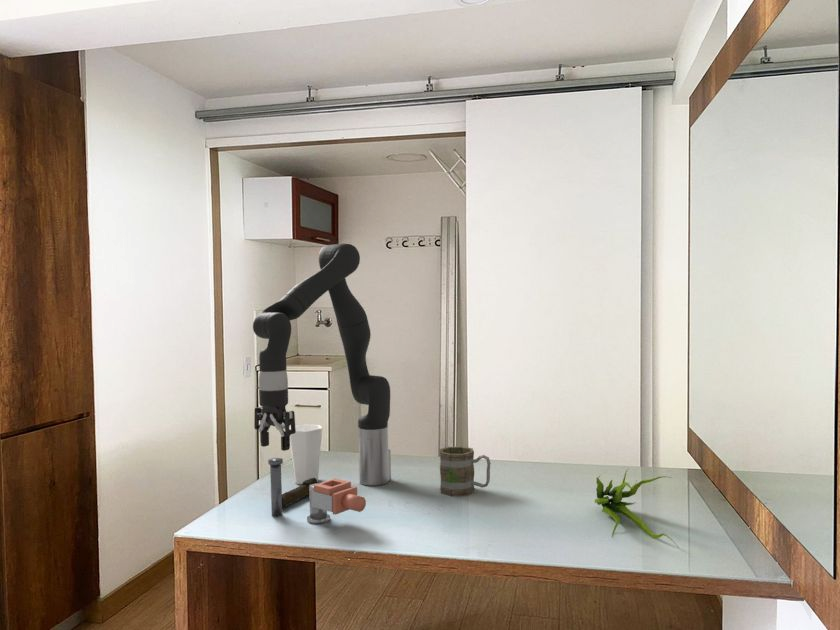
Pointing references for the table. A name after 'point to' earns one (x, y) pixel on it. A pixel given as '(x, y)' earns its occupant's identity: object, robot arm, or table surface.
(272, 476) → the steel pin
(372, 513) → the table surface
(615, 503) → the decorative plant
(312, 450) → the cup
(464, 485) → the mug
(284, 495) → the hand tool
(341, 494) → the bracket
